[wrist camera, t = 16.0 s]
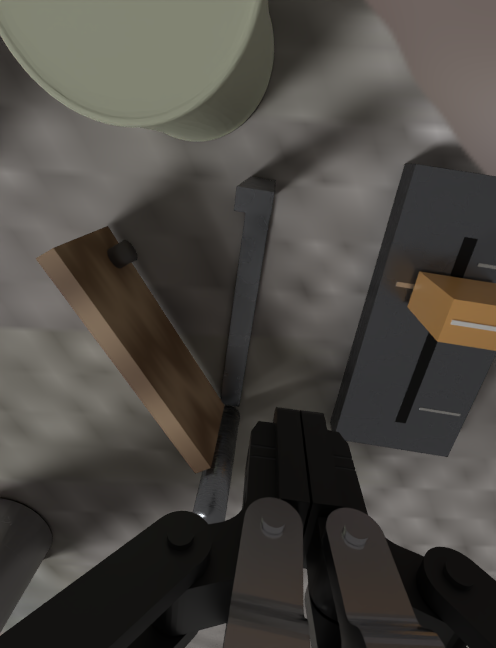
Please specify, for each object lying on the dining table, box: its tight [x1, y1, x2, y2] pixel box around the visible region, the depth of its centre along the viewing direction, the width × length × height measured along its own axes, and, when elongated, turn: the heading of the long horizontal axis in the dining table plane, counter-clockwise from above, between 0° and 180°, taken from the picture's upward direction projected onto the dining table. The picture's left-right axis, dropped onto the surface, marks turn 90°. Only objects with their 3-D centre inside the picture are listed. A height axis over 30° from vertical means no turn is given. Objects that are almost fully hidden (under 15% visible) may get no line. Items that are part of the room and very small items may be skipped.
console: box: [330, 164, 496, 457], centre depth 26 cm, size 20×9×2 cm, turn 172°
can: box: [0, 0, 274, 142], centre depth 16 cm, size 9×9×12 cm
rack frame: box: [193, 177, 275, 524], centre depth 24 cm, size 20×2×10 cm, turn 172°
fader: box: [408, 271, 496, 351], centre depth 21 cm, size 2×5×5 cm, turn 82°
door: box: [36, 226, 224, 473], centre depth 25 cm, size 16×2×7 cm, turn 28°
